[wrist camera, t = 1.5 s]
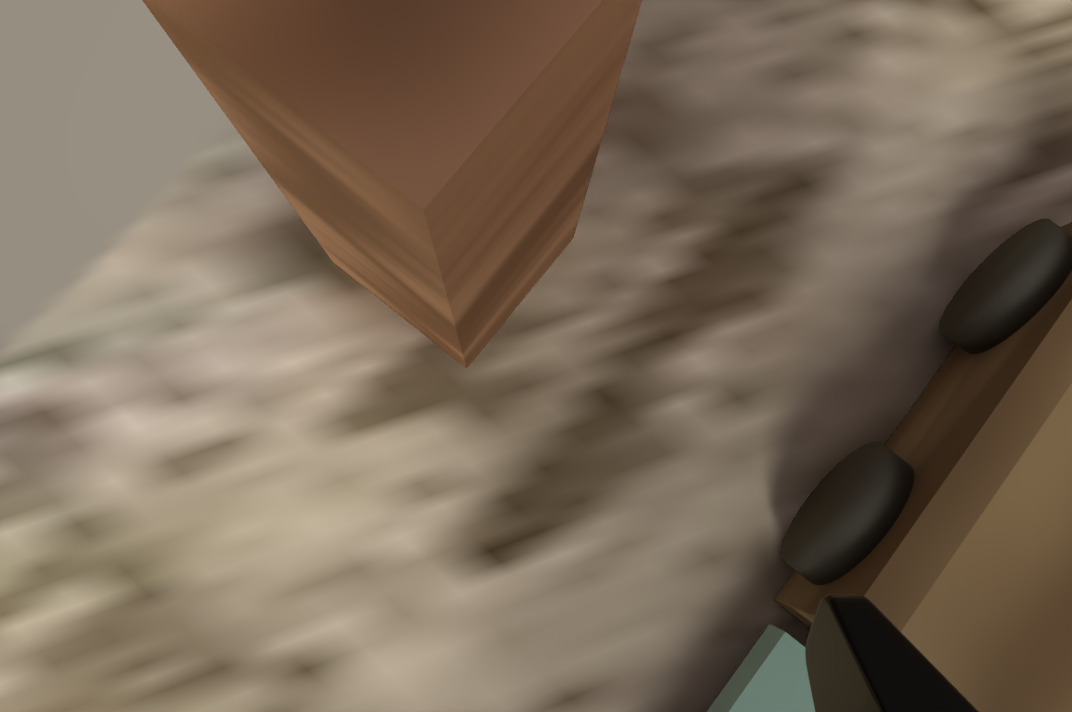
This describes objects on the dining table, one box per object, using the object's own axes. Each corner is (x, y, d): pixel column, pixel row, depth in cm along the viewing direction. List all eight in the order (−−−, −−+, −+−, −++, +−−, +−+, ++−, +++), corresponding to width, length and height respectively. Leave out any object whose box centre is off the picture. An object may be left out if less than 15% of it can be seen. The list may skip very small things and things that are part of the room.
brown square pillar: (573, 237, 23) (661, -70, 11) (466, 367, 23) (423, 210, 10) (442, 135, 24) (373, -284, 11) (332, 261, 23) (123, -26, 10)
